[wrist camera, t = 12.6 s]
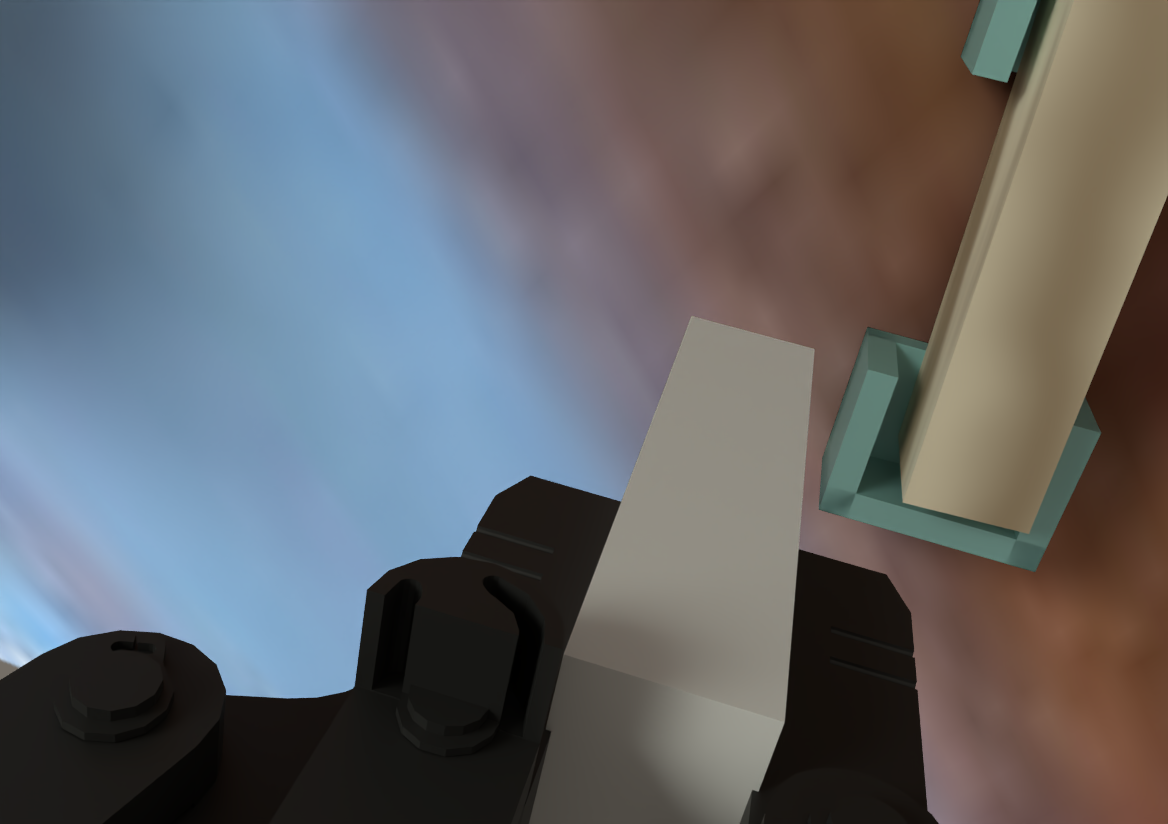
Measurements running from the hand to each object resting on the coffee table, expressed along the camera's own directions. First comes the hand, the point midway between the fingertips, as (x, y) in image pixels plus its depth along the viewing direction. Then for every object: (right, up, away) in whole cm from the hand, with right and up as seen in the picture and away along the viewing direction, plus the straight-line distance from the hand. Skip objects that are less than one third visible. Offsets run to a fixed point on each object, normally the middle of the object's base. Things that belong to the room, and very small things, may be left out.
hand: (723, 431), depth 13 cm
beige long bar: (+13, +6, +22) cm, 26 cm away
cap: (+11, 0, +26) cm, 29 cm away
